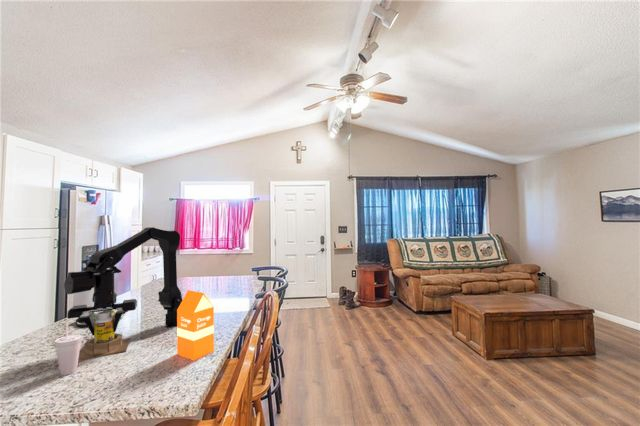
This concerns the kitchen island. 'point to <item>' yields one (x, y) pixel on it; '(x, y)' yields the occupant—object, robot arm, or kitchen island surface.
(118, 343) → the caddy
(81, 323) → the salad plate
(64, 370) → the smoothie
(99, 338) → the supplement bottle
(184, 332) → the orange juice
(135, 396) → the kitchen island surface
